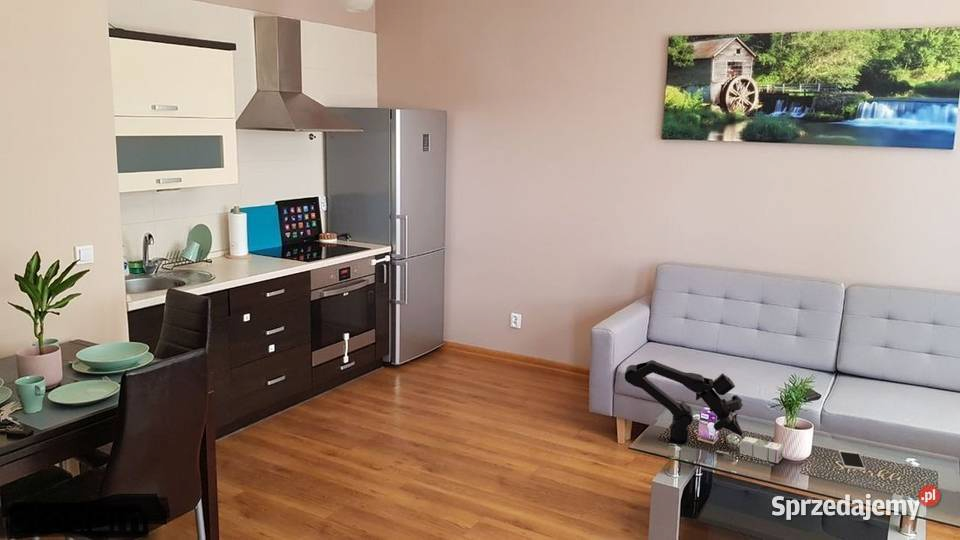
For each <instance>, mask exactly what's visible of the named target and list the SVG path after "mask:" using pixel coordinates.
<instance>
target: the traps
mask: <svg viewBox="0 0 960 540" xmlns="http://www.w3.org/2000/svg"><path fill="white" fill-rule="evenodd" d="M721 459H724V460H727V461H732V462H734V461H735V460H736V458H735V459H732V458H731V457H729V454H726V453H725V454H724V453H723V456H722V457H721Z"/></svg>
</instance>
